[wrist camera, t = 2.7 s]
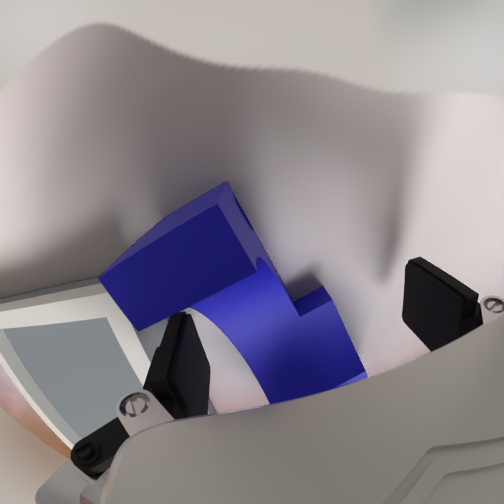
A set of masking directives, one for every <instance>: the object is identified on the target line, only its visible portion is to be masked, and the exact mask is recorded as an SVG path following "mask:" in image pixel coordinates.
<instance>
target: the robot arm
mask: <svg viewBox="0 0 504 504" xmlns="http://www.w3.org/2000/svg"><path fill="white" fill-rule="evenodd" d="M478 296H479V294H478V293H476V292H475V291H473V290H472V289H470V288H469V287H467V286H466V285H464V284H463V283H461V282H460V281H458V280H457V279H455V278H454V277H452V276H451V275H449V274H448V273H446V272H444V271H443V270H441V269H440V268H438V267H436V266H435V265H433V264H432V263H430V262H428V261H427V260H425V259H423V258H422V257H418V258H414V259H411V260H409V261H408V264H406V266H405V284H404V299H403V311H402V318H403V321H404V323H405V324H406V325H407V326H408V327H409V328H410V329H411V330H412V331H413V332H414V333H415V334H416V335H417V337H418V338H419V339H420V340H421V341H422V342H423V343H424V344H425V345H426V346H427V347H428V349H429V350H430V351H431V352H430V353H427V354H425V355H423V356H421V357H418V358H416V359H414V360H412V361H409V362H407V363H404V364H402V365H400V366H397V367H395V368H392V369H390V370H387V371H384V372H382V373H379V374H376V375H374V376H371V377H368V378H365V379H362V380H359V381H356V382H353V383H350V384H347V385H344V386H340V387H337V388H334V389H330V390H327V391H323V392H320V393H316V394H312V395H308V396H304V397H300V398H296V399H292V400H288V401H283V402H278V403H274V404H269V405H263V406H258V407H252V408H246V409H240V410H233V411H227V412H221V413H214V414H208V402H209V386H210V365H209V362H208V359H207V357H206V354H205V351H204V349H203V346H202V343H201V341H200V338H199V335H198V333H197V330H196V327H195V324H194V322H193V319H192V316H191V314H186V312H185V311H184V312H178V313H176V314H174V315H172V316H170V318H169V320H168V323H167V326H166V329H165V332H164V335H163V338H162V341H161V344H160V347H157V348H156V350H155V353H154V356H153V358H152V361H151V364H150V367H149V370H148V373H147V376H146V380H145V383H144V386H143V389H137V390H132V391H130V392H127V393H126V394H124V395H123V396H122V397H121V398H120V399H119V400H118V402H117V404H116V407H115V411H116V414H117V416H118V417H116V418H115V419H113V420H112V421H110V422H108V423H107V424H105V425H104V426H102V427H100V428H99V429H97V430H96V431H94V432H92V433H91V434H89V435H88V436H86V437H84V438H83V439H81V440H79V441H78V442H77V443H76V444H75V445H74V447H73V448H72V451H71V460H72V461H71V462H70V463H69V464H68V463H66V462H65V463H64V464H63V465H62V466H61V467H60V468H59V469H58V470H57V471H56V472H55V473H54V474H53V475H52V476H51V477H50V478H49V479H48V480H47V481H46V482H45V483H44V484H43V485H42V486H41V487H40V488H39V490H38V491H37V493H36V497H35V499H36V504H504V299H502V298H500V297H498V296H486V297H484V298H482V300H481V301H480V304H479V303H478V302H477V300H478Z"/></svg>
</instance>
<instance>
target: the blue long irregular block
mask: <svg viewBox="0 0 504 504" xmlns="http://www.w3.org/2000/svg"><path fill="white" fill-rule="evenodd" d="M98 279H99V281H100V282H101V283H102V285H103V286H104V288H105V289H106V291H107V292H108V293H109V295H110V296H111V298H112V299H113V300H114V302H115V303H116V304H117V306H118V307H119V308H120V310H121V311H122V312H123V314H124V315H125V316H126V317H127V319H128V320H129V321H130V322H131V324H132V325H133V326H134V327H135V329H136V330H137V331H138V332H139V331H141V330H143V329H146V328H148V327H150V326H152V325H154V324H156V323H158V322H160V321H162V320H164V319H166V318H168V317H170V316H172V315H174V314H176V313H178V312H180V311H182V310H184V309H186V308H188V307H190V308H192V309H195V310H196V311H198V312H200V313H202V314H203V315H204V316H206V317H207V318H208V319H210V320H211V321H212V322H213V323H214V324H215V325H216V326H218V327H219V328H220V329H221V330H222V332H223V333H224V334H225V335H226V336H227V337H228V338H229V339H230V341H231V342H232V343H233V344H234V346H235V347H236V348H237V349H238V351H239V352H240V354H241V355H242V356H243V358H244V359H245V361H246V362H247V364H248V365H249V367H250V368H251V370H252V372H253V373H254V375H255V377H256V378H257V380H258V382H259V384H260V385H261V387H262V389H263V391H264V393H265V395H266V397H267V399H268V401H269V403H270V404H274V403H278V402H283V401H288V400H292V399H296V398H300V397H304V396H308V395H312V394H316V393H320V392H323V391H327V390H330V389H334V388H337V387H340V386H344V385H347V384H350V383H353V382H356V381H359V380H362V379H365V378H368V376H367V373H366V371H365V369H364V367H363V365H362V362H361V360H360V358H359V356H358V354H357V352H356V350H355V348H354V346H353V344H352V342H351V339H350V337H349V335H348V333H347V331H346V329H345V327H344V324H343V322H342V320H341V318H340V316H339V314H338V311H337V309H336V307H335V305H334V303H333V300H332V299H331V297H330V296H329V294H328V293H327V291H326V290H325V288H324V287H323V286H322V287H320V288H319V289H317V290H315V291H313V292H311V293H309V294H307V295H305V296H303V297H302V298H300V299H298V300H296V301H293V300H292V298H291V296H290V294H289V292H288V291H287V289H286V287H285V285H284V283H283V281H282V280H281V278H280V276H279V274H278V272H277V271H276V269H275V267H274V265H273V263H272V261H271V260H270V258H269V256H268V254H267V252H266V251H265V249H264V247H263V245H262V243H261V242H260V240H259V238H258V236H257V234H256V233H255V231H254V229H253V227H252V226H251V224H250V222H249V220H248V218H247V217H246V215H245V213H244V211H243V209H242V208H241V206H240V204H239V202H238V201H237V199H236V197H235V195H234V194H233V192H232V190H231V188H230V186H229V185H228V183H227V181H226V182H224V183H222V184H221V185H219V186H217V187H215V188H214V189H212V190H210V191H208V192H207V193H205V194H203V195H201V196H200V197H198V198H196V199H195V200H193V201H191V202H190V203H188V204H186V205H185V206H183V207H181V208H180V209H178V210H176V211H175V212H173V213H171V214H170V215H168V216H167V217H165V218H163V219H162V220H161V221H160V222H158V223H157V224H156V225H155V226H154V227H153V228H151V229H150V230H149V231H148V232H147V233H146V234H145V235H143V236H142V237H141V238H140V239H139V240H138V241H137V242H136V243H134V244H133V245H132V246H131V247H130V248H129V249H128V250H127V251H126V252H125V253H123V254H122V255H121V256H120V257H119V258H118V259H117V260H116V261H115V262H114V263H113V264H112V265H111V266H110V267H109V268H107V269H106V270H105V271H104V272H103V273H102V274H101V275H100V276H99V277H98Z"/></svg>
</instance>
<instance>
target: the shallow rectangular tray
mask: <svg viewBox="0 0 504 504" xmlns="http://www.w3.org/2000/svg"><path fill="white" fill-rule="evenodd" d="M169 318H170V317H168V318H166V319H164V320H162V321H160V322H158V323H156V324H154V325H152V326H150V327H148V328H146V329H143V330H141V331H139V332H138V331H137V330H136V329H135V327H134V326H133V325H132V324H131V322H130V321H129V320H128V319H127V317H126V316H125V315H124V314H123V312H122V311H121V310H120V308H119V307H118V306H117V304H116V303H115V302H114V300H113V299H112V298H111V296H110V295H109V293H108V292H107V291H106V289H105V288H104V286H103V285H102V283H101V282H100V281H99V279H98V277H94V278H90V279H85V280H81V281H76V282H72V283H67V284H63V285H58V286H54V287H50V288H45V289H41V290H36V291H32V292H28V293H23V294H19V295H15V296H10V297H6V298H2V299H0V363H1V365H2V366H3V368H4V369H5V371H6V372H7V374H8V375H9V377H10V378H11V380H12V381H13V382H14V384H15V385H16V387H17V388H18V389H19V391H20V392H21V393H22V395H23V396H24V397H25V399H26V400H27V401H28V403H29V404H30V405H31V406H32V408H33V409H34V410H35V411H36V412H37V414H38V415H39V416H40V417H41V418H42V419H43V421H44V422H45V423H46V424H47V425H48V426H49V427H50V428H51V429H52V430H53V431H54V433H55V434H56V435H57V436H58V437H59V438H60V439H61V440H62V441H63V442H64V443H65V444H66V445H67V446H68V447H69V448H70V449H71V450H72V448H73V447H74V445H75V444H76V443H77V442H78V441H79V440H81V439H83V438H84V437H86V436H88V435H89V434H91V433H92V432H94V431H96V430H97V429H99V428H100V427H102V426H104V425H105V424H107V423H108V422H110V421H112V420H113V419H115V418H116V417H118V416H117V414H116V411H115V407H116V404H117V402H118V400H119V399H120V398H121V397H122V396H123V395H124V394H126V393H127V392H130V391H132V390H137V389H143V386H144V383H145V380H146V376H147V373H148V370H149V367H150V364H151V361H152V358H153V356H154V353H155V350H156V348H157V347H160V344H161V341H162V338H163V335H164V332H165V329H166V326H167V323H168V320H169ZM214 413H216V411H215V409H214V407H213V405H212V403H211V401H210V399H209V402H208V414H214Z"/></svg>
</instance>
